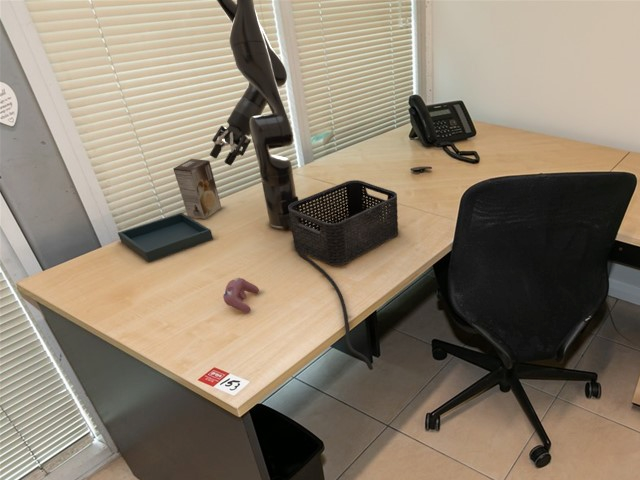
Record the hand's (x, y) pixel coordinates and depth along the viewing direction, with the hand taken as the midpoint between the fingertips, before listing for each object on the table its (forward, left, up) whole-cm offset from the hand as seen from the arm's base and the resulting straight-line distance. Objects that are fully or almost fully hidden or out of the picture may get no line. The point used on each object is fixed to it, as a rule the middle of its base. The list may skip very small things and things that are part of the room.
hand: (220, 160), depth 164 cm
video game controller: (-54, +29, -15) cm, 63 cm away
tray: (-10, +26, -15) cm, 32 cm away
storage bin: (-48, -10, -15) cm, 51 cm away
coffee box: (0, +9, -15) cm, 18 cm away
